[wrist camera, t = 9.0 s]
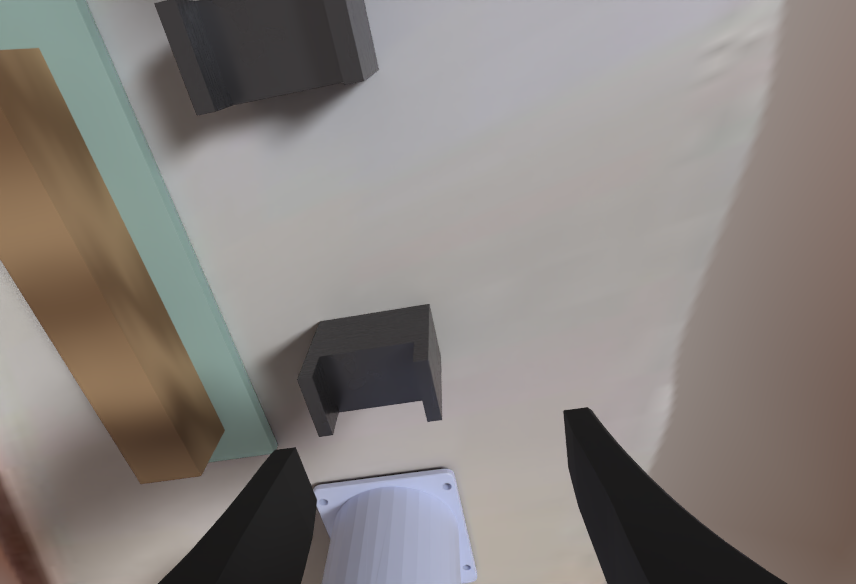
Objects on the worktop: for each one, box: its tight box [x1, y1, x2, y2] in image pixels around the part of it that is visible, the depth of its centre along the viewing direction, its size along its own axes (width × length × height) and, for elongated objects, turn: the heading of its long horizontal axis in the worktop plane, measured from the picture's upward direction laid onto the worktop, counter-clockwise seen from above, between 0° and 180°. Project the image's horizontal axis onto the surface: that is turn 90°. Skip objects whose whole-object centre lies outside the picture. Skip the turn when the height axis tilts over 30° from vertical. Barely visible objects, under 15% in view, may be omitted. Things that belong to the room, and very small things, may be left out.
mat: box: [0, 0, 278, 462], centre depth 22 cm, size 22×7×1 cm, turn 11°
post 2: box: [297, 304, 442, 437], centre depth 22 cm, size 3×5×4 cm, turn 101°
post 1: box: [154, 0, 379, 115], centre depth 16 cm, size 3×5×4 cm, turn 101°
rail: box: [0, 48, 225, 484], centre depth 21 cm, size 18×3×3 cm, turn 11°
